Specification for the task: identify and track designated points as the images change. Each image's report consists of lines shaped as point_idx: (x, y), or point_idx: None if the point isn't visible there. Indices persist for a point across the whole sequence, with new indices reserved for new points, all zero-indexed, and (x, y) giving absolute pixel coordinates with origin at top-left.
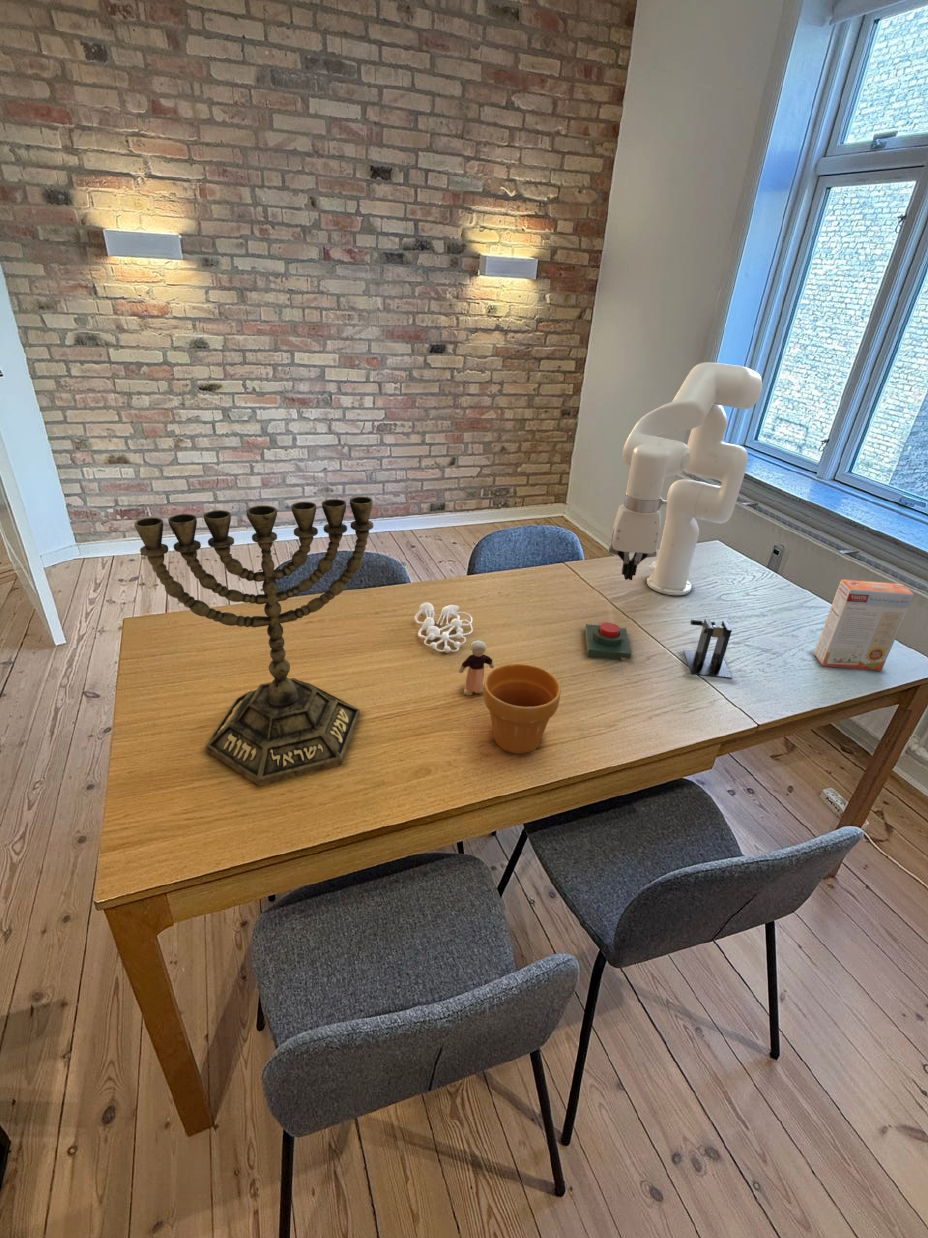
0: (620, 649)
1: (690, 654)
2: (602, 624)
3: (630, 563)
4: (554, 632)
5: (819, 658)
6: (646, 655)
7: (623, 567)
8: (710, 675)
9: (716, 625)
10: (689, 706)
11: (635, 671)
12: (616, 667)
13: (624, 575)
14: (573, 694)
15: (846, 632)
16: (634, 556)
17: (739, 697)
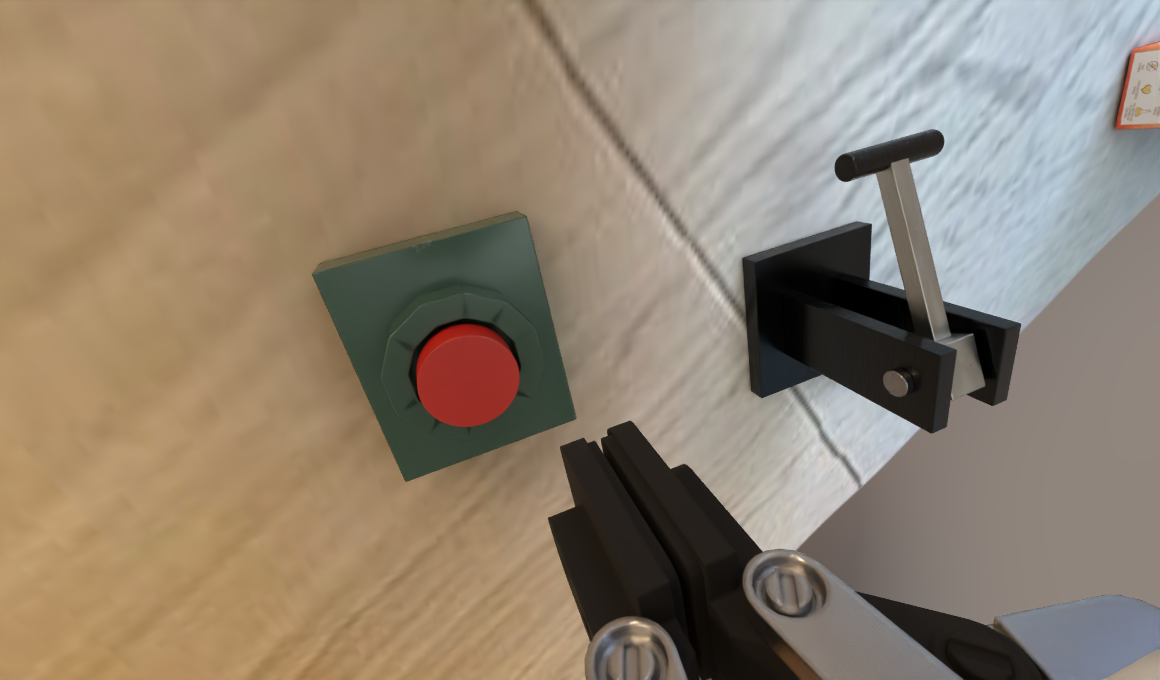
0: (531, 414)
1: (773, 281)
2: (425, 376)
3: (684, 602)
4: (163, 346)
5: (1133, 96)
6: (619, 329)
7: (588, 634)
8: (811, 378)
9: (961, 348)
10: (733, 517)
11: None
12: (525, 460)
13: (575, 500)
14: (427, 655)
15: None
16: (788, 654)
17: (855, 412)
